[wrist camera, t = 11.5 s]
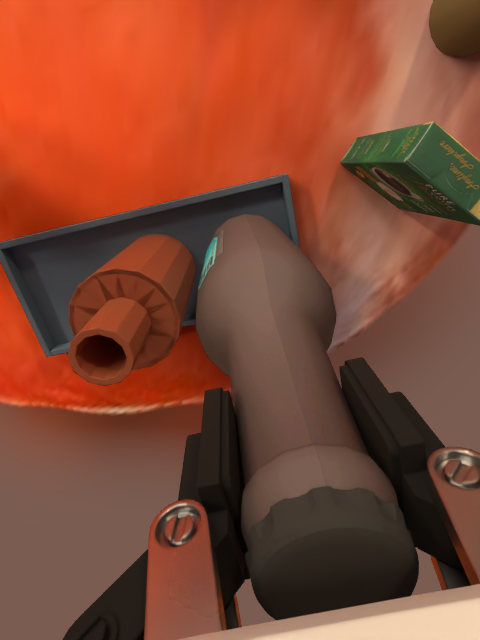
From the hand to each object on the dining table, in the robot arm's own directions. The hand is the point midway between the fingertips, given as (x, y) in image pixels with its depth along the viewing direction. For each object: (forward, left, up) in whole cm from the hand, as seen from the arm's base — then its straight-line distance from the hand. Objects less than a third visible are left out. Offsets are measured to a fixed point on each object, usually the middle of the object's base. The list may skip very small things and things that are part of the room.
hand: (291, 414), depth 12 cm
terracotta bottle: (-9, 0, -27) cm, 28 cm away
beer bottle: (0, 0, -25) cm, 25 cm away
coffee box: (+14, +4, -28) cm, 31 cm away
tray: (-9, 0, -27) cm, 29 cm away
